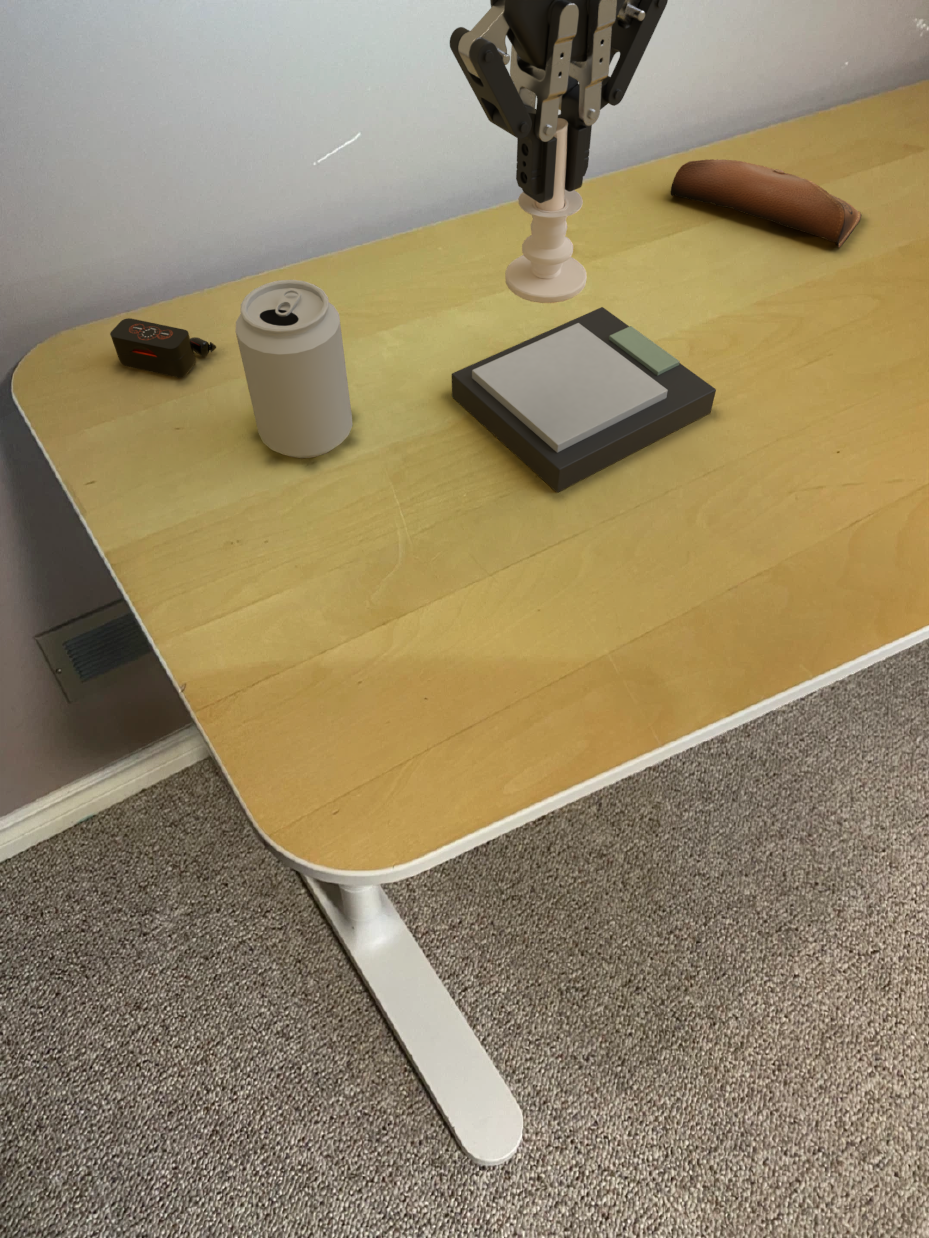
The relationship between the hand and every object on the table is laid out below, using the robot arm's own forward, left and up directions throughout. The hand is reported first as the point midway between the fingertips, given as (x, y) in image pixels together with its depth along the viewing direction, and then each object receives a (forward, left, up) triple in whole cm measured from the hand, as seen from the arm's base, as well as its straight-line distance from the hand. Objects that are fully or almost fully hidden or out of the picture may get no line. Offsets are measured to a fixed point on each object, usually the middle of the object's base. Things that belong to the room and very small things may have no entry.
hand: (551, 189), depth 57 cm
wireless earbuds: (+17, -29, -22) cm, 40 cm away
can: (+12, -14, -22) cm, 29 cm away
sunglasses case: (-43, -17, -22) cm, 51 cm away
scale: (-8, -4, -22) cm, 24 cm away
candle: (0, 0, -6) cm, 6 cm away
